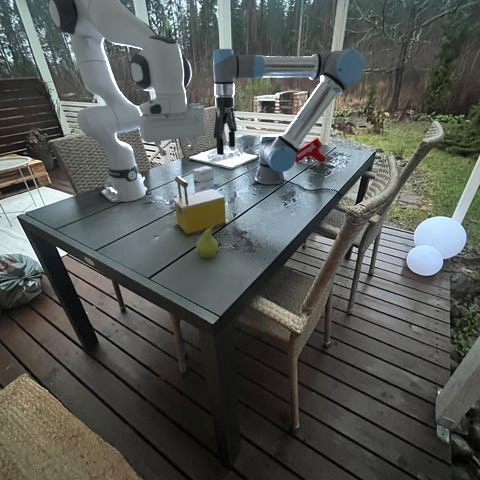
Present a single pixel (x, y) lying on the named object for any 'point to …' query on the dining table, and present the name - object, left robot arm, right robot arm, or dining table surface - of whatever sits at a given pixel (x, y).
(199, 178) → the ink box
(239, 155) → the relief map
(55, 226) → the dining table surface
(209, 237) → the fruit
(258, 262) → the dining table surface
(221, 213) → the chest
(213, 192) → the lid
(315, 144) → the toy gun
